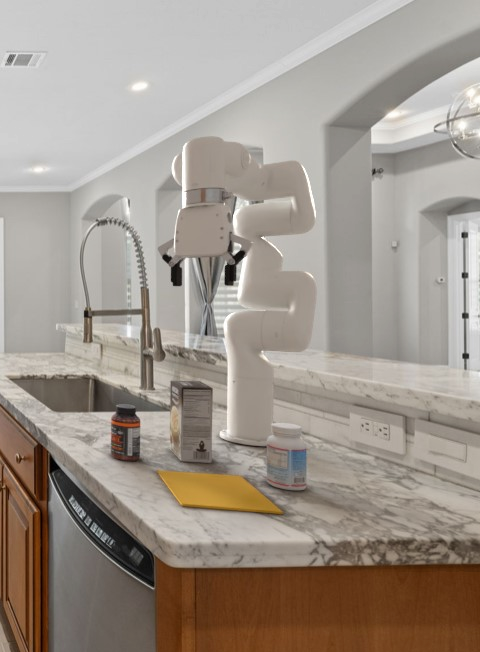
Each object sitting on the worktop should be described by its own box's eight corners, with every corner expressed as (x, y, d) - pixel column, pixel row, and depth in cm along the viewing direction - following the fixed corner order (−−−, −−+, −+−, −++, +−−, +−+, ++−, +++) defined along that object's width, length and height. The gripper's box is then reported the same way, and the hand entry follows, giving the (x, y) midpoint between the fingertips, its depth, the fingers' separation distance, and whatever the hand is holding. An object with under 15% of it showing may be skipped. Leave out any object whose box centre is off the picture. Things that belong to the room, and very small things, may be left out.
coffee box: (168, 449, 124) (169, 379, 124) (198, 451, 123) (199, 380, 123) (180, 461, 115) (181, 386, 115) (213, 463, 114) (214, 387, 114)
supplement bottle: (104, 455, 120) (104, 404, 120) (124, 452, 122) (125, 402, 122) (125, 463, 114) (125, 409, 114) (146, 459, 117) (146, 407, 117)
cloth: (156, 472, 109) (156, 470, 109) (240, 477, 105) (240, 475, 105) (181, 506, 91) (181, 503, 91) (283, 514, 88) (283, 511, 88)
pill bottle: (299, 482, 103) (300, 423, 102) (311, 493, 97) (312, 430, 97) (262, 478, 105) (262, 420, 105) (271, 489, 99) (272, 427, 99)
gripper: (258, 197, 106) (257, 285, 106) (166, 208, 118) (165, 286, 119) (246, 192, 101) (245, 285, 101) (151, 204, 113) (151, 286, 114)
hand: (202, 285), depth 110 cm, fingers open, 9 cm apart
